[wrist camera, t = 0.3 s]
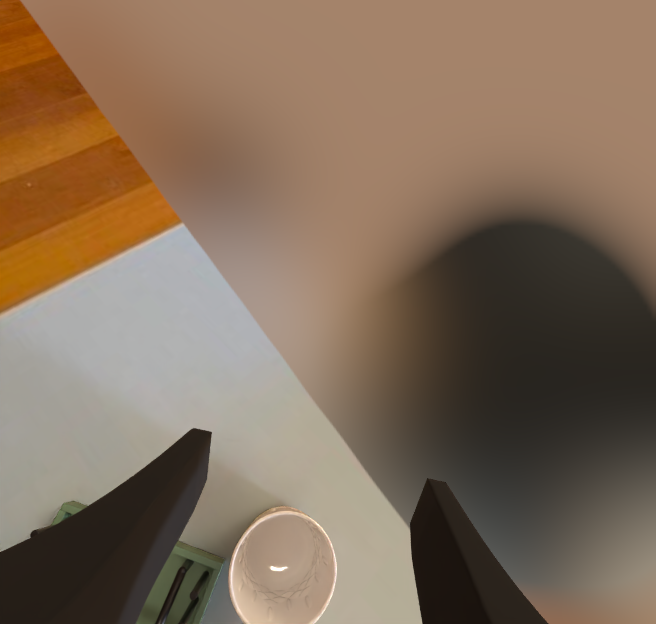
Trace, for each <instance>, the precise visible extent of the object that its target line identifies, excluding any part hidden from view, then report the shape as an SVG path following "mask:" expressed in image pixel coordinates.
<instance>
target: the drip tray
mask: <svg viewBox="0 0 656 624" xmlns="http://www.w3.org/2000/svg"><path fill="white" fill-rule="evenodd" d="M86 507H87V506H85V505H83V504H80V503H77V502H75V501H71V502H66V503H64V504H63V505H62V507H61V509H60V511H59V512H58V514H57V516H56V518H55V519H54V521H53V523H52V525H55V524H58V523H60V522H61V521H63V520H65V519H67V518H69V517H70V516H72V515H74V514H76V513H77V512H79V511H81V510H82V509H84V508H86ZM187 559H190V560H192V561H194V563H193V565H192V566H191V567H190V569H189V570H188V571H187V572H186V574H185V576H184V579H183V581H182V583H181V586H180V588H179V591H178V593H177V595H176V598H175V600H174V602H173V605H172V607H171V609H170V612H169V614H168V617H167V619H166V621H165V624H178V623H179V621H180V619H181V618H182V616H183V614H184V612H185V611H186V609H187V607H188V605H189V604H190V602H191V599H190V597H189V596H190V593H191V591H192V590H193V588H194V587H195V585H196V583H197V582H198V580H199V579H200V577H201V575H202V574H203V572H204V571H208V572H209V576H208V578H207V580H206V582H205V584H204V586H203V587H202V589H201V591H200V593H199V595H198V597H199V602H198V603H197V605H196V607H195V609H194V611H193V613H192V615H191V617H190V619H189V621H188V623H187V624H200V623H201V620H202V618H203V615H204V613H205V610H206V608H207V605H208V602H209V600H210V597H211V595H212V592H213V590H214V587H215V584H216V582H217V579H218V577H219V574H220V572H221V569H222V567H223V564H224V561H225V559H223V558H220V557H218V556H215V555H213V554H210V553H207V552H205V551H202V550H200V549H197V548H194V547H192V546H189V545H187V544H184V543H181V542H179V541H177V543H176V545H175V547H174V548H173V550H172V552H171V554H170V556H169V558H168V559H167V561H166V563H165V565H164V567H163V569H162V570H161V572H160V574H159V576H158V578H157V580H156V581H155V583H154V585H153V587H152V589H151V591H150V593H149V595H148V597H147V600H146V602H145V604H144V606H143V609H142V611H141V613H140V615H139V618H138V620H137V622H136V624H155V622H156V620H157V618H158V616H159V613H160V611H161V609H162V606H163V604H164V602H165V599H166V597H167V595H168V592H169V590H170V588H171V585H172V583H173V581H174V578H175V576H176V574H177V571H178V569H179V568H180V567H181V566H182V564H183V563H184V562H185V561H186V560H187Z"/></svg>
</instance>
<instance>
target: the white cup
mask: <svg viewBox="0 0 656 624" xmlns="http://www.w3.org/2000/svg"><path fill="white" fill-rule="evenodd" d="M335 581H336V558H335V553H334V550H333V547H332V544H331V542H330V539H329V538H328V536H327V534H326V533H325V531H324V530H323V529H322V527H321V526H320V525H319V524H318V523H317V522H315V521H314V520H313V519H312V518H311V517H309V516H308V515H307V514H305V513H303V512H302V511H300V510H298V509H295V508H292V507H286V506H279V507H275V508H271V509H268V510H266V511H265V512H264V513H262V514H261V515H259V516H258V517H257V518H256V519H255V520H254V521H253V522H252V523H251V524H250V526H249V527H248V528H247V530H246V531H245V533H244V534H243V535H242V537H241V538H240V540H239V542H238V543H237V545H236V547H235V550H234V552H233V555H232V558H231V562H230V566H229V575H228V584H229V592H230V597H231V601H232V603H233V606H234V608H235V610H236V612H237V614H238V616H239V617H240V619H241V620H242V621H243V622H244V623H245V624H314V623H315V622H316V621H317V620H318V619H319V618H320V616H321V615H322V614H323V612H324V611H325V609H326V607H327V606H328V604H329V602H330V599H331V597H332V594H333V591H334V587H335Z"/></svg>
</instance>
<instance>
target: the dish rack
mask: <svg viewBox="0 0 656 624" xmlns="http://www.w3.org/2000/svg"><path fill="white" fill-rule="evenodd" d="M55 525H56V524H55ZM52 526H54V525H51V526H48V527H44V528H41V529H37V530H34V531H33V532H32V533H31V535H30V537H33V536H35V535H37V534H39V533H41V532H43V531H45V530H47V529H49V528H51V527H52ZM193 563H194V561H192V560H190V559H187V560H186V561H185V562H184V563H183V564H182V566H181V567H180V568H179V569H178V571H177V574H176V576H175V578H174V581H173V583H172V585H171V588H170V590H169V592H168V595H167V597H166V599H165V602H164V604H163V606H162V609H161V611H160V613H159V616H158V618H157V620H156V622H155V624H165V621H166V619H167V617H168V614H169V612H170V609H171V607H172V605H173V602H174V600H175V598H176V595H177V593H178V591H179V588H180V586H181V583H182V581H183V579H184V576H185V574H186V572H187V571H188V570H189V569H190V567H191V566H192V565H193ZM208 576H209V572H208V571H204V572H203V574H202V575H201V577H200V579H199V580H198V582H197V583H196V585H195V587H194V588H193V590H192V591H191V593H190V596H189V597H190V599H191V602H190V604H189V605H188V607H187V609H186V611H185V612H184V614H183V616H182V618H181V619H180V621H179V623H178V624H187V623H188V621H189V619H190V617H191V615H192V613H193V611H194V609H195V607H196V605H197V603H198V602H199V597H198V595H199V593H200V591H201V589H202V587H203V586H204V584H205V582H206V580H207V578H208Z"/></svg>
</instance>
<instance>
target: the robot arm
mask: <svg viewBox="0 0 656 624" xmlns="http://www.w3.org/2000/svg"><path fill="white" fill-rule="evenodd" d="M211 434H212V432H209V431H205V430H200V429H195V428H193V429H191V430H190V431H189V432H187V433H186V434H185V435H184V436H183V437H182V438H180V439H179V440H178V441H177V442H176V443H174V444H173V445H172V446H171V447H170V448H168V449H167V450H166V451H165V452H164V453H162V454H161V455H160V456H159V457H157V458H156V459H155V460H153V461H152V462H151V463H150V464H148V465H147V466H146V467H144V468H143V469H142V470H141V471H139V472H138V473H136V474H135V475H134V476H132V477H131V478H129V479H128V480H127V481H125V482H124V483H122V484H121V485H119V486H118V487H117V488H115V489H114V490H112V491H111V492H109V493H108V494H106V495H105V496H103V497H102V498H100V499H99V500H97V501H95V502H94V503H92V504H91V505H89V506H87V507H86V508H84V509H82V510H81V511H79V512H77V513H76V514H74V515H72V516H70V517H69V518H67V519H65V520H63V521H61V522H60V523H58V524H56V525H54V526H52V527H51V528H49V529H47V530H45V531H43V532H41V533H39V534H37V535H35V536H33V537H31V538H29V539H27V540H25V541H23V542H21V543H19V544H17V545H15V546H13V547H11V548H8V549H6V550H4V551H2V552H0V624H136V622H137V620H138V618H139V615H140V613H141V611H142V609H143V606H144V604H145V602H146V600H147V597H148V595H149V593H150V591H151V589H152V587H153V585H154V583H155V581H156V580H157V578H158V576H159V574H160V572H161V570H162V569H163V567H164V565H165V563H166V561H167V559H168V558H169V556H170V554H171V552H172V550H173V548H174V547H175V545H176V543H177V541H178V539H179V537H180V536H181V534H182V532H183V530H184V528H185V526H186V524H187V523H188V521H189V519H190V517H191V515H192V513H193V511H194V509H195V507H196V505H197V502H198V500H199V497H200V495H201V493H202V490H203V488H204V485H205V483H206V480H207V473H208V463H209V453H210V444H211ZM410 532H411V552H412V562H413V568H414V575H415V581H416V587H417V593H418V599H419V605H420V611H421V617H422V623H423V624H548V623H547V622H546V621H545V619H544V618H543V617H542V616H541V615H540V614H539V613H538V611H537V610H536V609H535V608H534V607H533V605H532V604H531V603H530V602H529V601H528V599H527V598H526V597H525V596H524V595H523V593H522V592H521V591H520V590H519V588H518V587H517V586H516V585H515V583H514V582H513V581H512V579H511V578H510V577H509V575H508V574H507V573H506V571H505V570H504V569H503V567H502V566H501V565H500V563H499V562H498V561H497V559H496V558H495V556H494V555H493V554H492V552H491V551H490V550H489V548H488V547H487V545H486V544H485V542H484V541H483V539H482V538H481V536H480V535H479V533H478V532H477V530H476V529H475V527H474V526H473V524H472V523H471V521H470V520H469V518H468V517H467V515H466V513H465V512H464V510H463V509H462V507H461V506H460V504H459V502H458V501H457V499H456V498H455V496H454V495H453V493H452V491H451V490H450V488H449V487H448V485H447V484H446V482H442V481H437V480H433V479H428V478H427V481H426V483H425V486H424V488H423V491H422V494H421V496H420V499H419V501H418V504H417V507H416V509H415V512H414V514H413V517H412V520H411V522H410Z"/></svg>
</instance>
